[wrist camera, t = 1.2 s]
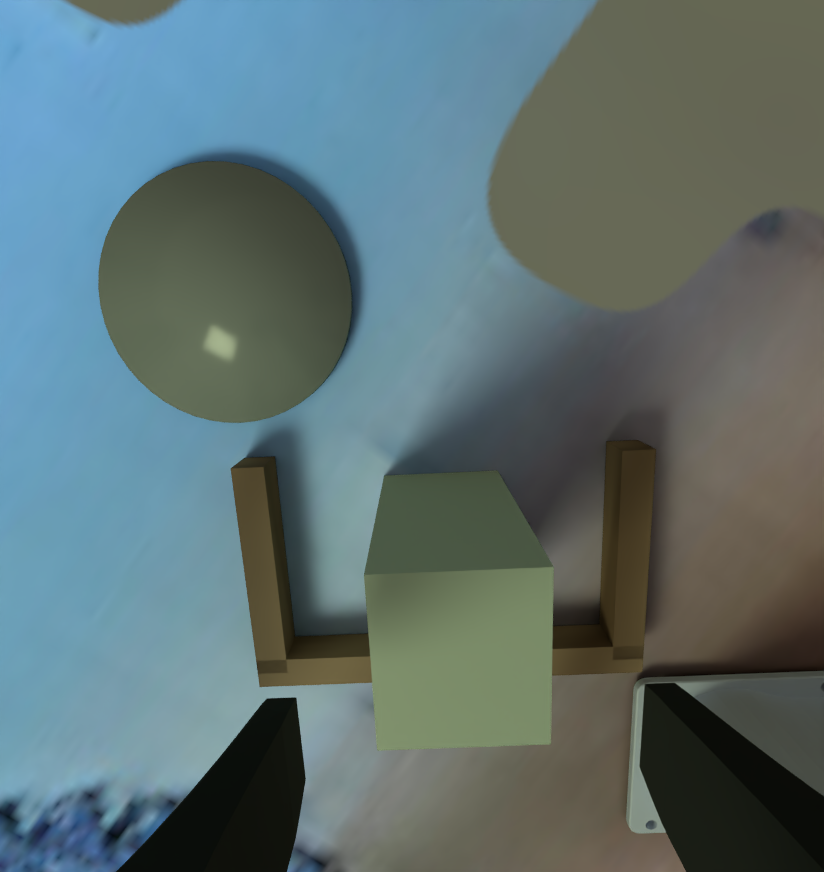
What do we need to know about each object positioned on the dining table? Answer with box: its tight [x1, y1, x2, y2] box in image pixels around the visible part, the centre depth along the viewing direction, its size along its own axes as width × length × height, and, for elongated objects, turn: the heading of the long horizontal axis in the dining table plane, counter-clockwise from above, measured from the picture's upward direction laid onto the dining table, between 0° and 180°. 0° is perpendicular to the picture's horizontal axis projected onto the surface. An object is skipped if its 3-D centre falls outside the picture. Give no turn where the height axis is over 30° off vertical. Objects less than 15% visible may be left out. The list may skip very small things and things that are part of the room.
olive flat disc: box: [99, 161, 352, 423], centre depth 18 cm, size 9×9×1 cm
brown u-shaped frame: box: [231, 440, 656, 687], centre depth 19 cm, size 15×9×2 cm, turn 93°
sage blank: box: [364, 471, 554, 750], centre depth 16 cm, size 4×5×8 cm
